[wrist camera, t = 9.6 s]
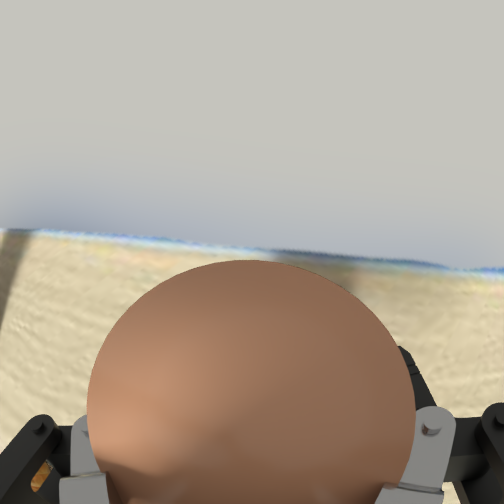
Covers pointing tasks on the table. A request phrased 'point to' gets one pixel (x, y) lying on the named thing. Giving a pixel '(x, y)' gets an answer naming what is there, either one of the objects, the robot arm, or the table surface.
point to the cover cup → (250, 392)
